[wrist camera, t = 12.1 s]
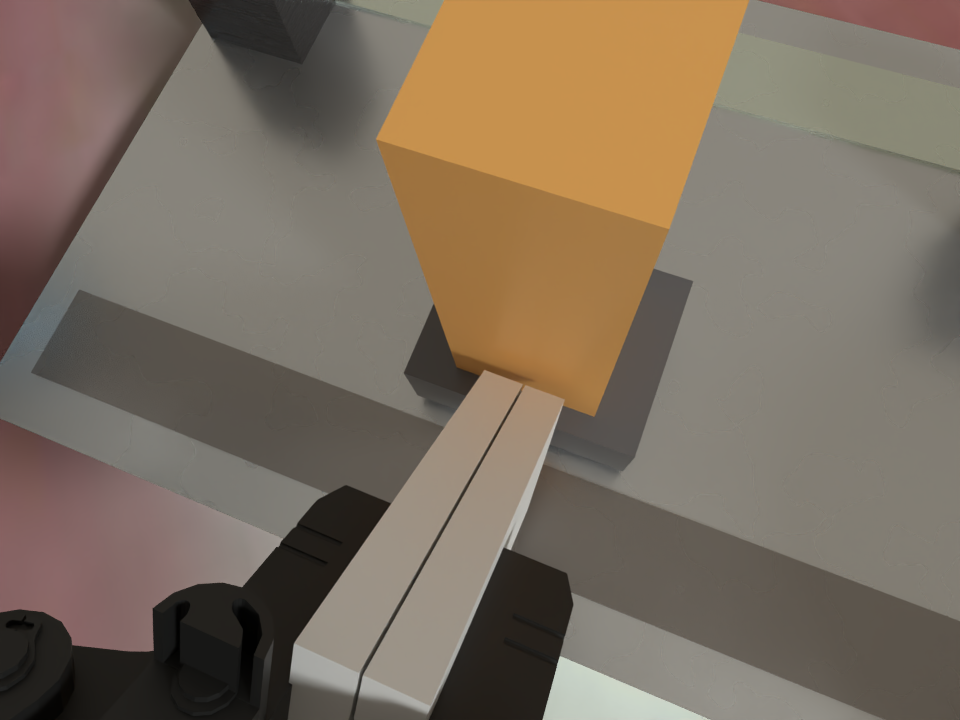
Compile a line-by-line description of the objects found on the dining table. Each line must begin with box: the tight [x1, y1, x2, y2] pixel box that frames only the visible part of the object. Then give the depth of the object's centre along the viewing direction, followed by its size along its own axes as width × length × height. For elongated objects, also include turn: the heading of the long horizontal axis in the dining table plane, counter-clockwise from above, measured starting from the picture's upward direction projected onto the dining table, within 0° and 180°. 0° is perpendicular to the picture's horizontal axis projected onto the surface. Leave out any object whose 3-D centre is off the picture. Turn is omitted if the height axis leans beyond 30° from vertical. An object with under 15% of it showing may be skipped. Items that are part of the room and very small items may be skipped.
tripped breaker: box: [376, 0, 749, 471], centre depth 12 cm, size 5×4×10 cm
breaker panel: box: [0, 0, 960, 720], centre depth 16 cm, size 26×18×6 cm
